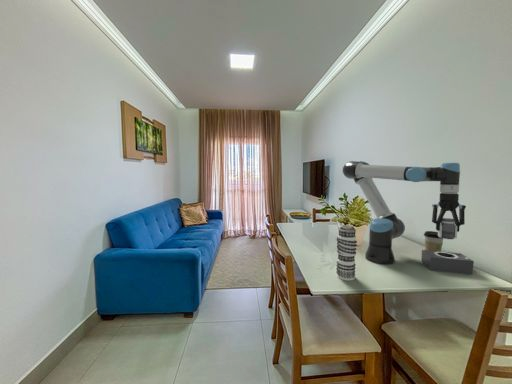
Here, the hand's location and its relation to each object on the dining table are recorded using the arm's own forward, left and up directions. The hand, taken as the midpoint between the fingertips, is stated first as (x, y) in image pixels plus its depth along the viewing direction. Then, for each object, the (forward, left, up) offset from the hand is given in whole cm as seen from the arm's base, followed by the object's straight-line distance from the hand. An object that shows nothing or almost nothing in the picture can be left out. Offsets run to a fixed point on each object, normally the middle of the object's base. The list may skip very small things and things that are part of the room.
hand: (447, 237), depth 120 cm
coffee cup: (+1, +18, -17) cm, 25 cm away
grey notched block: (+1, +2, -17) cm, 17 cm away
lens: (0, 0, 0) cm, 0 cm away
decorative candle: (-51, -25, -17) cm, 59 cm away
